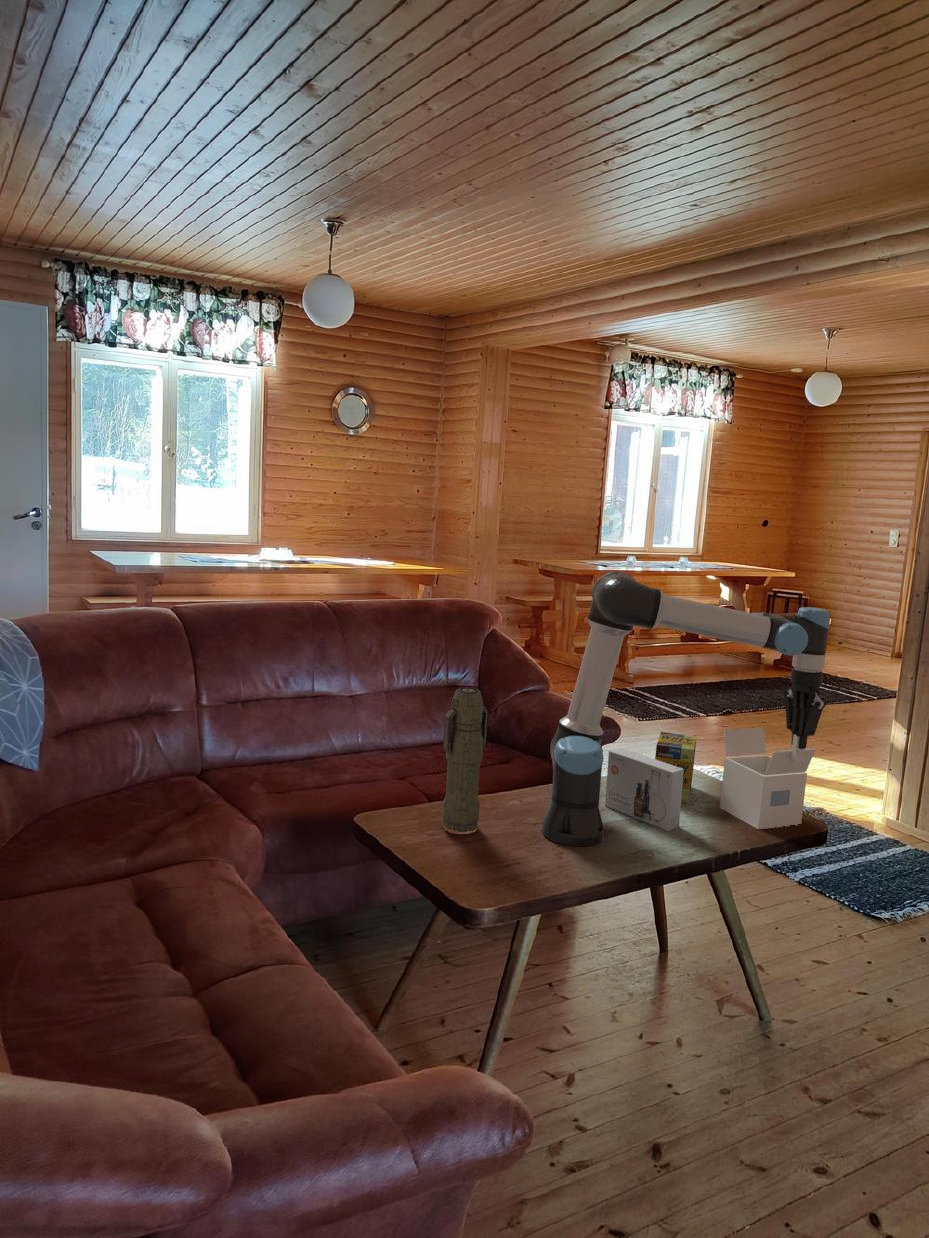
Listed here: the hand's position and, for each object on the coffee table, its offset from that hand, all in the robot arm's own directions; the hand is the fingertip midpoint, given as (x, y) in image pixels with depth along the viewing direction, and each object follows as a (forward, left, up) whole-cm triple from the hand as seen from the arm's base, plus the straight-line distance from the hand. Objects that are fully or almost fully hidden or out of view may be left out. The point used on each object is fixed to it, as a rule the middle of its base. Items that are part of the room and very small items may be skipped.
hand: (797, 759), depth 228 cm
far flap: (0, +20, -1) cm, 20 cm away
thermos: (-83, +21, -20) cm, 88 cm away
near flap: (0, +3, -1) cm, 3 cm away
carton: (0, +11, -19) cm, 22 cm away
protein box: (-13, +33, -20) cm, 41 cm away
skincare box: (-33, +18, -20) cm, 43 cm away
